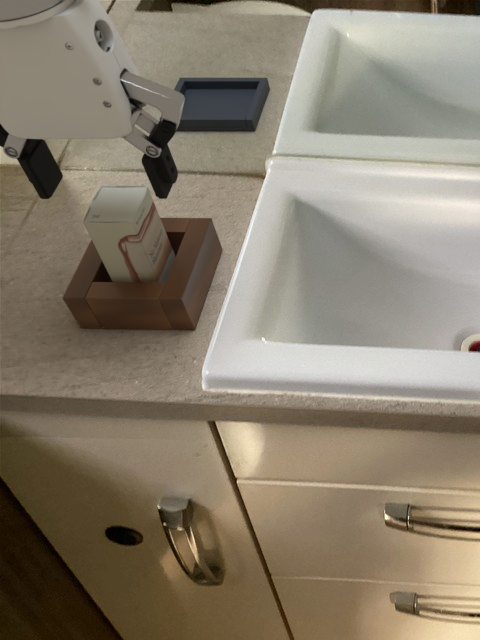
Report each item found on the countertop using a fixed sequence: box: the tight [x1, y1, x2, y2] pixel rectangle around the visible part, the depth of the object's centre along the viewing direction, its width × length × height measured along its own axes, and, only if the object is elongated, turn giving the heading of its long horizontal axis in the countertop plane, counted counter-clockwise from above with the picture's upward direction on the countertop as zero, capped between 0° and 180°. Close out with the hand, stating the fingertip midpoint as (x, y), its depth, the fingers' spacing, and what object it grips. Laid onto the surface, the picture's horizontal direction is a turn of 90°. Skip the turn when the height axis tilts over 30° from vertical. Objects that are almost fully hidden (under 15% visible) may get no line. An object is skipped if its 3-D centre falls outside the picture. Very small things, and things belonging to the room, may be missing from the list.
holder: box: [62, 217, 223, 331], centre depth 73 cm, size 10×10×4 cm
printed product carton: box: [82, 184, 176, 283], centre depth 70 cm, size 5×4×10 cm
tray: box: [158, 77, 271, 132], centre depth 92 cm, size 11×9×2 cm
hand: (110, 188), depth 65 cm, fingers open, 9 cm apart
